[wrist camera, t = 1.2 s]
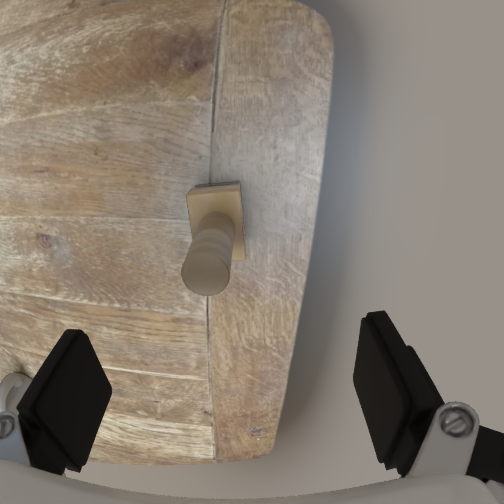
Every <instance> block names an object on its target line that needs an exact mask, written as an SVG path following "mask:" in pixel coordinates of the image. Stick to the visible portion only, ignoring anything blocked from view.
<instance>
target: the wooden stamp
mask: <svg viewBox="0 0 504 504" xmlns="http://www.w3.org/2000/svg"><path fill="white" fill-rule="evenodd" d="M186 198H187V206H188V212H189V219H190V226H191V233H192V239H193V241H192V243H191V246H190V248H189V251H188V253H187V256H186V258H185V261H184V263H183V266H182V270H181V276H182V280H183V282H184V284H185V285H186V287H187V288H188V289H189V290H191V291H192V292H194V293H196V294H198V295H202V296H212V295H215V294H218V293H220V292H221V291H223V290H224V289H225V288H226V286H227V285H228V283H229V279H230V270H231V261H243V260H246V244H245V233H244V222H243V211H242V200H241V188H240V183H239V181H234V182H223V183H212V184H202V185H196V186H195V187H194V188H192V189H191V190H190V191H189V192H188V194H187V195H186Z"/></svg>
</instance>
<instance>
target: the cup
mask: <svg viewBox="0 0 504 504" xmlns="http://www.w3.org/2000/svg"><path fill="white" fill-rule="evenodd" d="M31 382H32V379H31V378H29V377H28V376H26V375H24V374H21V373H10V374H8V375H6V376H5V377H4V378H3V380H2V381H1V383H0V412H4V411H11V412H13V413H15V414H16V415H17V416H18V414H19V412H18V410H17V409H16V407H17V405H18V403H19V402H20V400H21V398H22V397H23V395H24V393H25V392H26V390H27V388H28V387H29V385H30V383H31Z"/></svg>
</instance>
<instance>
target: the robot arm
mask: <svg viewBox="0 0 504 504" xmlns="http://www.w3.org/2000/svg"><path fill="white" fill-rule="evenodd" d="M353 382H354V387H355V389H356V392H357V395H358V398H359V402H360V405H361V408H362V411H363V414H364V417H365V420H366V423H367V426H368V429H369V433H370V436H371V439H372V442H373V446H374V449H375V452H376V455H377V459H378V461H379V462H380V463H384V464H385V468H386V470H389V469H393V468H397V472H398V474H400V475H401V476H400V478H399V479H394V480H390V481H385V482H379V483H374V484H369V485H364V486H360V487H354V488H349V489H343V490H336V491H330V492H323V493H315V494H307V495H298V496H288V497H276V498H258V499H204V498H186V497H174V496H164V495H155V494H146V493H139V492H133V491H126V490H121V489H115V488H110V487H105V486H100V485H96V484H91V483H87V482H83V481H79V480H75V479H71V478H67V477H66V475H65V473H64V471H65V468H67V469H68V470H71V471H75V472H79V473H80V471H81V468H82V466H84V465H85V464H86V462H87V460H88V457H89V454H90V451H91V448H92V445H93V443H94V440H95V437H96V434H97V432H98V429H99V426H100V424H101V421H102V418H103V416H104V413H105V411H106V408H107V405H108V403H109V400H110V398H111V395H112V387H111V385H110V383H109V381H108V379H107V377H106V375H105V372H104V370H103V368H102V366H101V364H100V362H99V360H98V358H97V355H96V353H95V351H94V349H93V347H92V344H91V342H90V340H89V337H88V335H87V334H84V332H83V331H82V330H80V329H67V330H66V331H65V332H64V333H63V335H62V336H61V338H60V339H59V341H58V342H57V343H56V345H55V346H54V348H53V349H52V351H51V352H50V354H49V355H48V357H47V358H46V360H45V361H44V363H43V365H42V366H41V368H40V369H39V371H38V372H37V374H36V375H35V377H34V379H33V380H32V382H31V383H30V385H29V387H28V388H27V390H26V392H25V393H24V395H23V397H22V398H21V400H20V402H19V403H18V405H17V407H16V409H17V410H18V412H19V414H18V416H17V415H16V414H15V413H13V412H11V411H4V412H0V504H504V433H501V432H498V431H495V430H492V429H489V428H486V427H483V426H480V425H479V418H478V414H477V413H476V412H475V410H474V409H473V408H472V407H470V406H469V405H467V404H465V403H462V402H456V401H455V402H448V403H446V404H445V403H444V401H443V399H442V397H441V396H440V394H439V392H438V390H437V389H436V387H435V385H434V383H433V381H432V379H431V378H430V376H429V374H428V372H427V371H426V369H425V367H424V365H423V364H422V362H421V361H420V359H419V357H418V355H417V354H416V352H415V350H414V349H413V348H412V347H411V346H409V345H408V346H406V345H405V343H404V341H403V339H402V338H401V336H400V334H399V333H398V331H397V329H396V328H395V326H394V324H393V323H392V321H391V319H390V318H389V316H388V314H387V313H386V312H385V311H376V312H369V313H367V316H366V317H365V318H362V320H361V326H360V334H359V341H358V348H357V355H356V361H355V368H354V373H353Z"/></svg>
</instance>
